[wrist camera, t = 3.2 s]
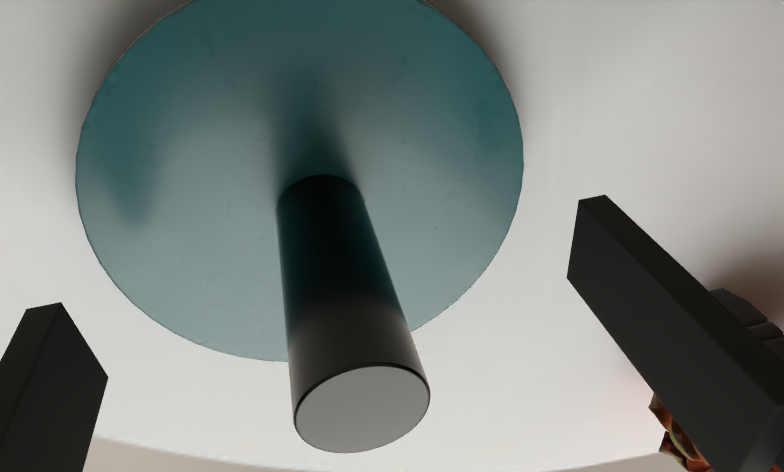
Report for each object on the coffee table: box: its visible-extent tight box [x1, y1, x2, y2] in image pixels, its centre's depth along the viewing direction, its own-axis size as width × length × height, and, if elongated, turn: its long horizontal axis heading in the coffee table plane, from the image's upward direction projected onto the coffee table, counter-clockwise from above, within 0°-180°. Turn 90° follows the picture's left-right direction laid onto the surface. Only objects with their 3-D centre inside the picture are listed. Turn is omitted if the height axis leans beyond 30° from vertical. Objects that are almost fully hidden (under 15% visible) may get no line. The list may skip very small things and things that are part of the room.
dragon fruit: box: [649, 393, 781, 472], centre depth 26 cm, size 8×8×12 cm
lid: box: [75, 0, 524, 453], centre depth 14 cm, size 14×14×9 cm
